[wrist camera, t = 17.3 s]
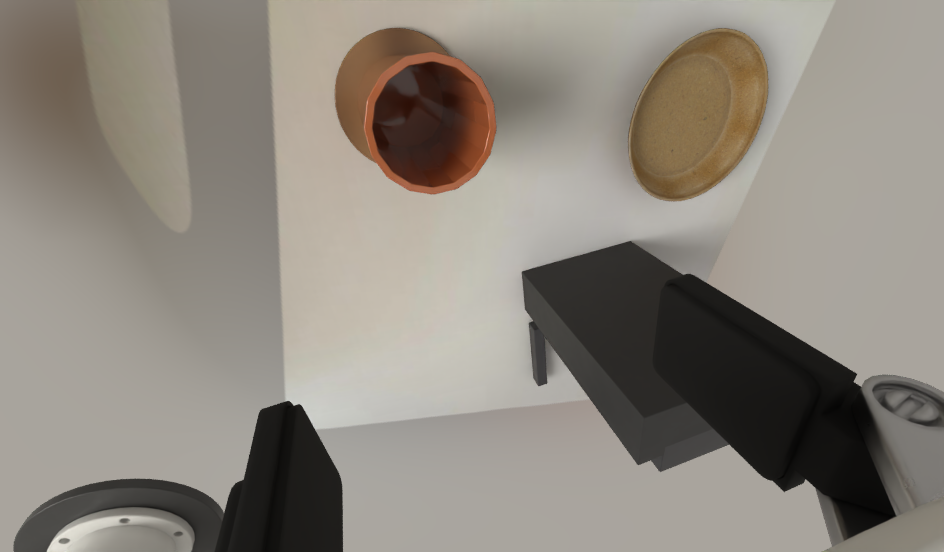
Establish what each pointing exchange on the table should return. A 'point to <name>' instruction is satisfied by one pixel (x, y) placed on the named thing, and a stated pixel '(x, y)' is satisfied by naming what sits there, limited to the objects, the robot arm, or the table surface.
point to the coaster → (356, 67)
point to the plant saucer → (698, 114)
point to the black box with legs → (615, 348)
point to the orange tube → (426, 120)
